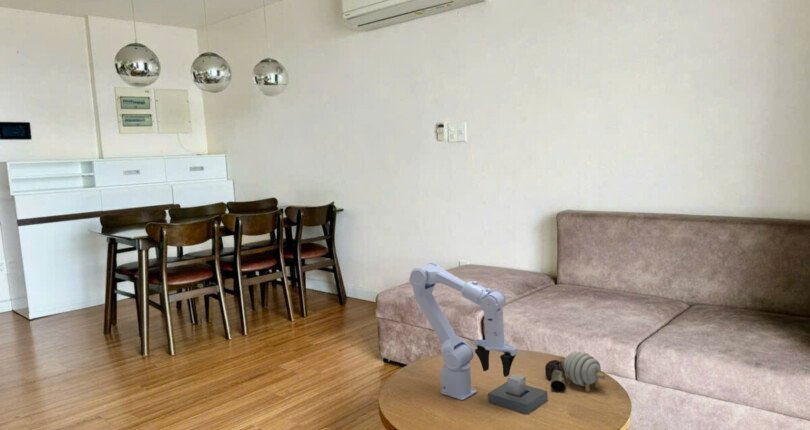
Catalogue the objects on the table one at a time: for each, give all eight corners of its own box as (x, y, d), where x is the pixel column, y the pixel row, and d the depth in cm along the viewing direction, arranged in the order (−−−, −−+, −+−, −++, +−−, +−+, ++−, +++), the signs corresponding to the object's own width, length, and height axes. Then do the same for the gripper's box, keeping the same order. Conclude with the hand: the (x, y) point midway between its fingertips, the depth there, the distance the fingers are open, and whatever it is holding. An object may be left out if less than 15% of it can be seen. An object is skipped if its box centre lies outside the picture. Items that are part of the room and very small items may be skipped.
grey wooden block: (508, 402, 175) (507, 377, 174) (515, 397, 178) (514, 373, 177) (519, 405, 172) (518, 380, 171) (526, 401, 175) (525, 376, 174)
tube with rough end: (566, 393, 179) (565, 376, 179) (544, 392, 181) (543, 376, 181) (566, 372, 196) (565, 356, 196) (546, 371, 198) (545, 356, 198)
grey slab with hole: (488, 402, 176) (487, 393, 176) (509, 389, 185) (509, 380, 184) (527, 414, 166) (527, 404, 166) (547, 400, 175) (547, 391, 175)
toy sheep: (572, 374, 193) (571, 343, 192) (616, 389, 180) (615, 356, 179) (552, 383, 187) (551, 351, 186) (596, 399, 174) (595, 364, 172)
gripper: (467, 329, 176) (469, 371, 177) (507, 338, 166) (508, 382, 167) (480, 324, 181) (482, 364, 182) (519, 332, 171) (521, 374, 172)
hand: (496, 372), depth 175 cm, fingers open, 7 cm apart
